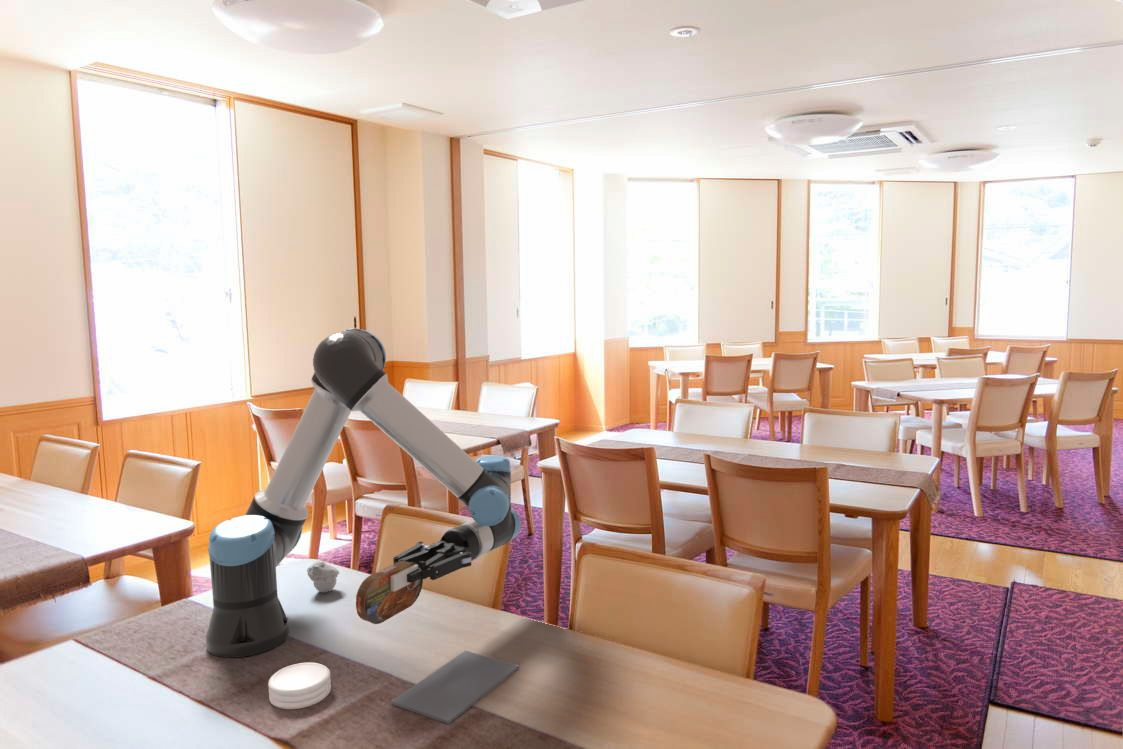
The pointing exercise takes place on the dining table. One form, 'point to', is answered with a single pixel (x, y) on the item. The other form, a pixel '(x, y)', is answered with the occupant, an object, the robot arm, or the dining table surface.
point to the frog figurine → (323, 576)
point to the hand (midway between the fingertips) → (385, 582)
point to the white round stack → (299, 685)
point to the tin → (385, 594)
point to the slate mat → (455, 686)
